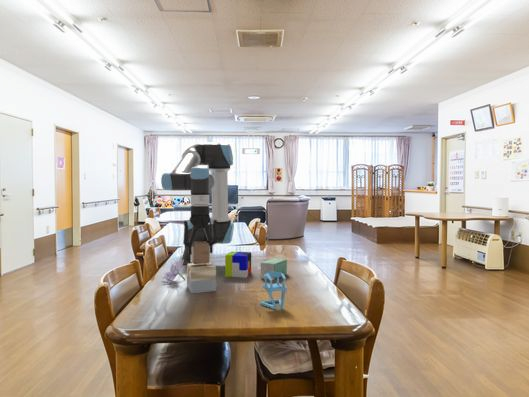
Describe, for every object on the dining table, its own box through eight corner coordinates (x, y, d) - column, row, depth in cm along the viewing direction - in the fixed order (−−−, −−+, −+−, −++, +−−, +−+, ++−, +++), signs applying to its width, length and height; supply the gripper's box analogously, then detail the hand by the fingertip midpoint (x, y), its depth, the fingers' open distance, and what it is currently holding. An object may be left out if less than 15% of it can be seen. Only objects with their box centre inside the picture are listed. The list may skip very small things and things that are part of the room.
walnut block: (191, 261, 156) (191, 242, 156) (205, 260, 159) (205, 241, 158) (194, 264, 151) (194, 244, 150) (209, 263, 153) (209, 243, 153)
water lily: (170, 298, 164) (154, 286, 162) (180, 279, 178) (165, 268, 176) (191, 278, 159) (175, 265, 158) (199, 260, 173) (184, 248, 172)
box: (287, 274, 181) (287, 258, 181) (274, 280, 169) (274, 263, 169) (273, 272, 184) (273, 257, 184) (260, 278, 172) (260, 262, 172)
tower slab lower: (186, 287, 158) (186, 275, 158) (210, 285, 162) (210, 273, 161) (191, 293, 149) (191, 281, 148) (216, 291, 152) (216, 279, 152)
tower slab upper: (187, 275, 158) (187, 263, 158) (210, 273, 161) (210, 262, 161) (191, 281, 148) (191, 268, 148) (216, 279, 152) (216, 266, 152)
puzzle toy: (246, 277, 174) (246, 256, 173) (225, 276, 176) (225, 255, 175) (251, 272, 184) (251, 252, 183) (231, 271, 186) (231, 251, 185)
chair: (269, 311, 128) (269, 276, 127) (259, 304, 136) (260, 270, 135) (289, 308, 131) (290, 274, 131) (279, 301, 139) (279, 269, 138)
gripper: (177, 206, 147) (178, 265, 148) (225, 205, 154) (225, 261, 154) (175, 205, 154) (175, 261, 155) (220, 204, 161) (220, 258, 161)
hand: (200, 261), depth 155 cm, fingers closed on walnut block, 6 cm apart
